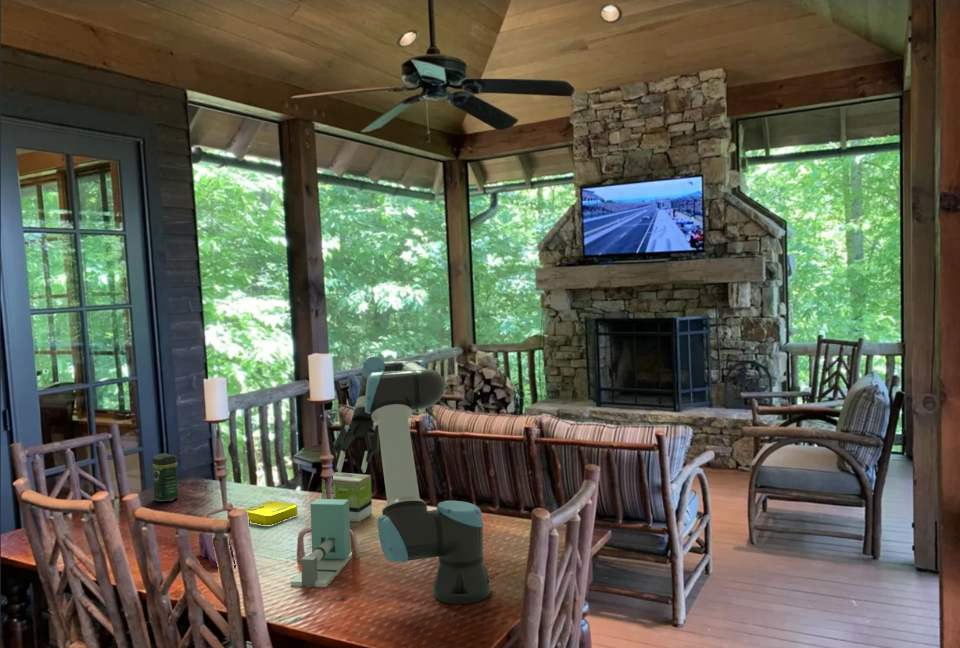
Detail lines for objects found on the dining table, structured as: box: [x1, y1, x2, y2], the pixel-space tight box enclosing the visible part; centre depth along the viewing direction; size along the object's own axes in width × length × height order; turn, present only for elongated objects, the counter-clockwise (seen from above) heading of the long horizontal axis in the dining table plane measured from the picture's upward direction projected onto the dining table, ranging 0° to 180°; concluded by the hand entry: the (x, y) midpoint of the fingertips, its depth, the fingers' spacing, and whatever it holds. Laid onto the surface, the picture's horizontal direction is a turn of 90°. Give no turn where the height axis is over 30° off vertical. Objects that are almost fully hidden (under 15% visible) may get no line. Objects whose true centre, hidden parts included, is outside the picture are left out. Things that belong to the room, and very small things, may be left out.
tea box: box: [321, 471, 373, 523], centre depth 244 cm, size 15×10×15 cm
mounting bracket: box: [198, 533, 235, 568], centre depth 207 cm, size 10×8×18 cm
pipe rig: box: [290, 537, 353, 588], centre depth 196 cm, size 24×10×8 cm, turn 172°
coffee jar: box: [152, 452, 179, 500], centre depth 272 cm, size 10×8×19 cm
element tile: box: [244, 499, 298, 525], centre depth 245 cm, size 15×15×5 cm
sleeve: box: [309, 498, 351, 559], centre depth 201 cm, size 5×10×16 cm, turn 82°
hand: (350, 470), depth 220 cm, fingers open, 8 cm apart
